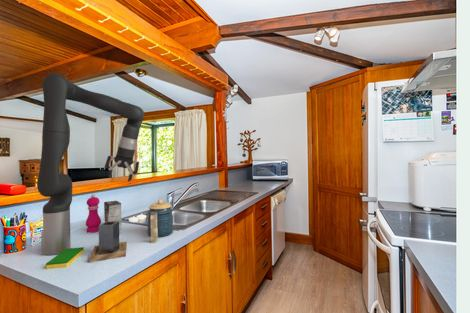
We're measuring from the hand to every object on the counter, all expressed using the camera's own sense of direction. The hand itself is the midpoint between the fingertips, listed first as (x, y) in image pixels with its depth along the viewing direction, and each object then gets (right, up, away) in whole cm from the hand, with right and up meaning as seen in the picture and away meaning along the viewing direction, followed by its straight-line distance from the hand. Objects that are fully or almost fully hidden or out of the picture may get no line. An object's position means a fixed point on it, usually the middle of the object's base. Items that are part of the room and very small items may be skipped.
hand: (119, 179), depth 109 cm
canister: (+17, -29, +9) cm, 35 cm away
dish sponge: (-11, -30, -19) cm, 38 cm away
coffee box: (-9, -30, +12) cm, 33 cm away
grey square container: (+3, -29, -14) cm, 32 cm away
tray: (+3, -29, -14) cm, 33 cm away
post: (+18, -29, -2) cm, 34 cm away
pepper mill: (-22, -30, +15) cm, 40 cm away
